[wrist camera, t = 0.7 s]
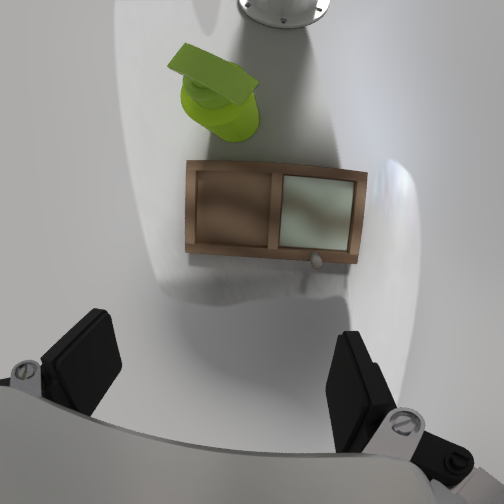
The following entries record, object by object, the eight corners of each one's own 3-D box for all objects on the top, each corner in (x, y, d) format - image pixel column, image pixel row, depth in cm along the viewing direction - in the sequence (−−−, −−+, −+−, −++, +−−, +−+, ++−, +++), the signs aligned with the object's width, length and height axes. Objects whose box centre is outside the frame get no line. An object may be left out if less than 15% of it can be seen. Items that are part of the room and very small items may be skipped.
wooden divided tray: (191, 161, 34) (178, 159, 29) (362, 172, 33) (376, 172, 28) (190, 247, 37) (178, 259, 32) (352, 258, 36) (364, 271, 31)
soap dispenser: (248, 155, 33) (219, 133, 14) (203, 127, 33) (128, 82, 14) (275, 118, 32) (280, 54, 13) (229, 90, 31) (184, 10, 12)
